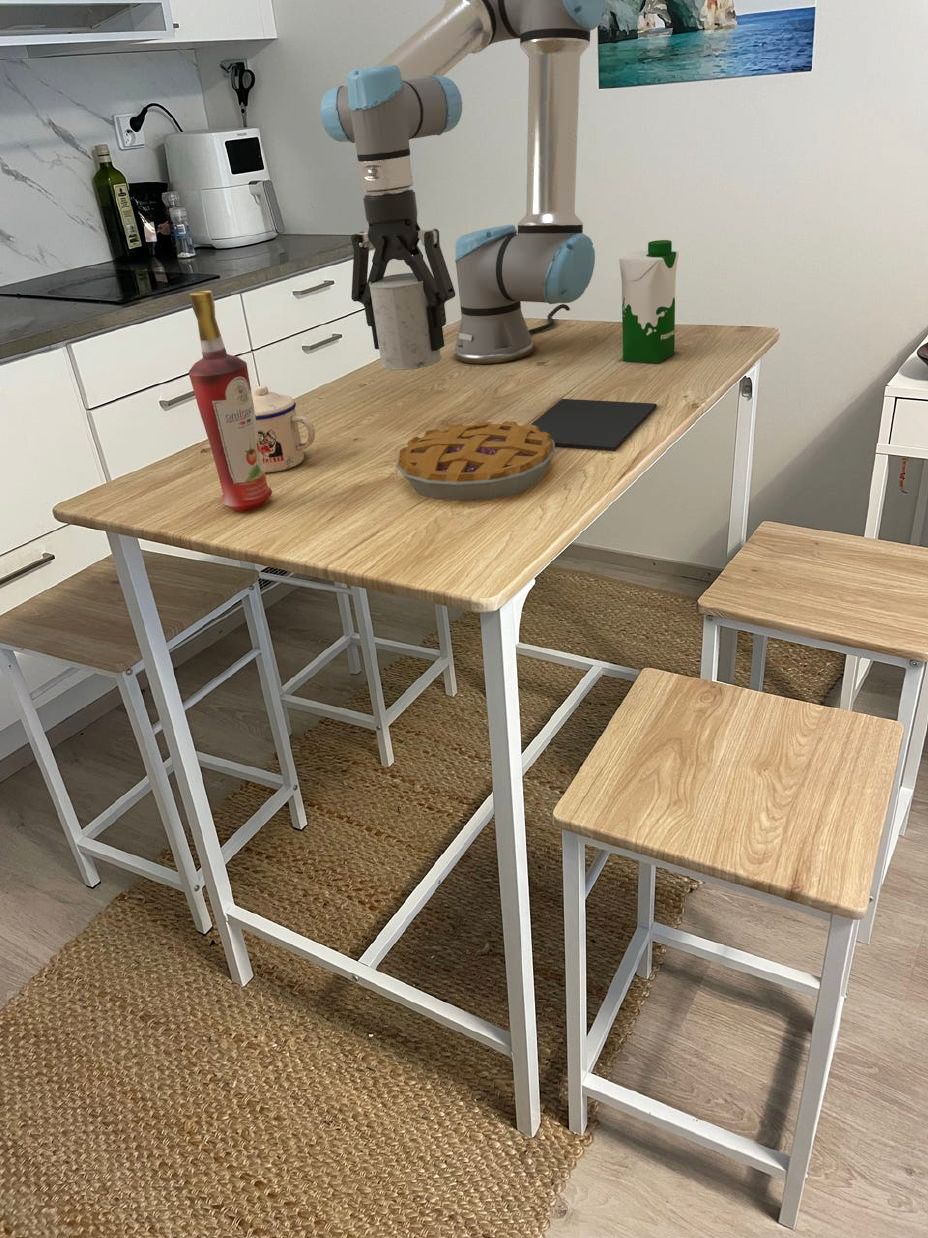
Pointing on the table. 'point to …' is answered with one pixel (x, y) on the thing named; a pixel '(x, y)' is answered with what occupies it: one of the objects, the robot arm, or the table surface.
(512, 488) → the pie
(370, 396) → the table surface
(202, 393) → the liquor
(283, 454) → the teacup with lid
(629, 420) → the back mat
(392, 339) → the tin can
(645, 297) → the milk carton
